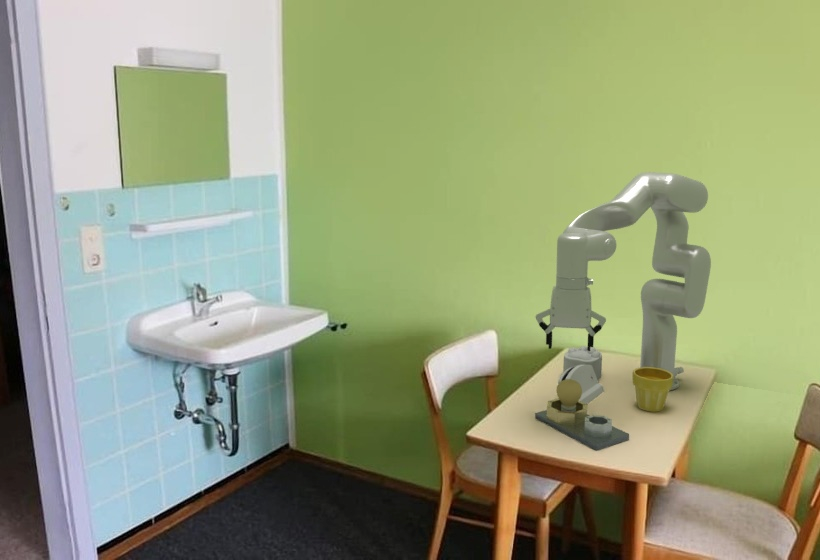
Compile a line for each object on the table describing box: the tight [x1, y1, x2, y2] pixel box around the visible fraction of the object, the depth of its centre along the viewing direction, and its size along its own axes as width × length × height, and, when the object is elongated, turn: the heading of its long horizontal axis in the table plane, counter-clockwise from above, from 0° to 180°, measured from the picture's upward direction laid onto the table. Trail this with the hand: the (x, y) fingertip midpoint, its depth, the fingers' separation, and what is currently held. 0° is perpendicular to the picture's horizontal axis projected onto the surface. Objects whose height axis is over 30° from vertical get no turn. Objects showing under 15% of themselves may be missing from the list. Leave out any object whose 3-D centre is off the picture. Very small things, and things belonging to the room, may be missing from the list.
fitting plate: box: [534, 397, 630, 451], centre depth 177 cm, size 11×22×4 cm, turn 31°
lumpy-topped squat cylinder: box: [562, 345, 603, 381], centre depth 214 cm, size 10×13×9 cm
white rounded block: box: [557, 364, 605, 405], centre depth 197 cm, size 17×5×10 cm, turn 141°
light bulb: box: [556, 379, 582, 412], centre depth 180 cm, size 6×6×10 cm
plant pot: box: [631, 367, 673, 413], centre depth 189 cm, size 10×10×10 cm
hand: (569, 348), depth 178 cm, fingers open, 9 cm apart
